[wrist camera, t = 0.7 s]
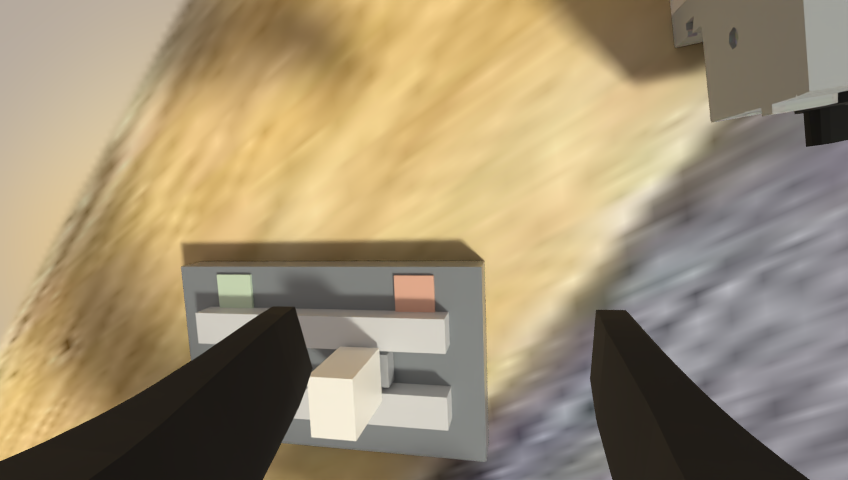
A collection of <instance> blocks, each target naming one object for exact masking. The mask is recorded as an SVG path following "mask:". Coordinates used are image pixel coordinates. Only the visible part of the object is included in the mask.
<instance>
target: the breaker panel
mask: <svg viewBox="0 0 848 480" xmlns="http://www.w3.org/2000/svg"><path fill="white" fill-rule="evenodd" d="M181 270H182V280H183V289H184V299H185V308H186V317H187V327H188V336H189V346H190V355H191V361H192V360H193V359H195V358H196V357H198V356H199V355H201V354H202V353H204V352H205V351H207V350H208V349H210V348H211V347H213V346H214V345H215V344H217V343H218V342H220V341H221V340H223V339H224V338H226V337H227V336H229V335H230V334H231V333H233V332H234V331H236V330H237V329H239V328H240V327H242V326H243V325H244V324H246V323H247V322H249V321H250V320H252V319H253V318H255V317H256V316H258V315H259V314H261V313H263V312H264V311H266V310H268V309H269V308H271V307H273V306H282V307H295V309H296V312H297V315H298V319H299V322H300V326H301V329H302V333H303V336H304V340H305V343H306V347H307V350H308V354H309V357H310V361H311V364H312V368H313V369H312V371H314V370H315V369H316V368H317V367H318V366H319V365H320V364H321V363H322V362H323V361H325V360H326V359H327V358H328V357H329V356H330V355H331V354H332V353H333V352H334V351H336V350H337V349H338V348H339V347H340V346H341V347H366V348H379V351H389V352H393V359H394V381H393V382H392V384H391V385H390V387H389V388H387V387H381V391H382V402H381V403H380V405H379V406H378V408H377V410H376V411H375V413H374V414H373V416H372V417H371V419H370V421H369V422H368V424H367V425H366V427H365V428H364V430H363V431H362V433H361V435H360V436H359V438H358V439H357V441H348V440H337V439H325V438H314V437H311V426H310V413H309V399H308V386H307V387H306V390H305V393H304V395H303V398H302V401H301V404H300V406H299V408H298V410H297V412H296V415H295V417H294V419H293V421H292V423H291V425H290V427H289V429H288V431H287V433H286V435H285V437H284V439H283V441H282V443H288V444H298V445H309V446H320V447H331V448H341V449H352V450H363V451H374V452H384V453H395V454H406V455H417V456H427V457H438V458H449V459H460V460H470V461H481V462H486V460H487V452H488V445H489V436H488V392H487V349H486V305H485V261H201V262H197V263H193V264H189V265H185V266H182V267H181Z"/></svg>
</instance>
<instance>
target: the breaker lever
mask: <svg viewBox="0 0 848 480" xmlns="http://www.w3.org/2000/svg"><path fill="white" fill-rule="evenodd" d="M393 381H394V359H393V352H389V351H379V348H366V347H341V346H340V347H339V348H338V349H337V350H336V351H334V352H333V353H332V354H331V355H330V356H329V357H328V358H327V359H326V360H325V361H323V362H322V363H321V364H320V365H319V366H318V367H317V368H316V369H315V370H314V371H312V372H311V375H310V378H309V381H308V384H307V386H308V399H309V413H310V426H311V437H314V438H325V439H337V440H348V441H357V439H358V438H359V436H360V435H361V433H362V431H363V430H364V428H365V427H366V425H367V424H368V422H369V421H370V419H371V417H372V416H373V414H374V413H375V411H376V410H377V408H378V406H379V405H380V403H381V402H382V391H381V387H387V388H389V387H390V385H391V384H392V382H393Z"/></svg>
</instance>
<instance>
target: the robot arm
mask: <svg viewBox="0 0 848 480" xmlns="http://www.w3.org/2000/svg"><path fill="white" fill-rule="evenodd" d="M312 369H313V368H312V364H311V361H310V357H309V354H308V350H307V347H306V343H305V340H304V336H303V333H302V329H301V326H300V322H299V319H298V315H297V312H296V309H295V307H282V306H273V307H271V308H269V309H268V310H266V311H264V312H263V313H261V314H259V315H258V316H256V317H255V318H253V319H252V320H250V321H249V322H247V323H246V324H244V325H243V326H242V327H240V328H239V329H237V330H236V331H234V332H233V333H231V334H230V335H229V336H227V337H226V338H224V339H223V340H221V341H220V342H218V343H217V344H215V345H214V346H213V347H211V348H210V349H208V350H207V351H205V352H204V353H202V354H201V355H199V356H198V357H196V358H195V359H193V360H192V361H190V362H189V363H187V364H185V365H184V366H182V367H181V368H179V369H178V370H176V371H175V372H173V373H171V374H170V375H168V376H167V377H165V378H164V379H162V380H160V381H159V382H157V383H156V384H154V385H152V386H151V387H149V388H147V389H146V390H144V391H142V392H141V393H139V394H137V395H135V396H134V397H132V398H130V399H128V400H127V401H125V402H123V403H121V404H119V405H117V406H116V407H114V408H112V409H110V410H108V411H107V412H105V413H103V414H101V415H99V416H97V417H95V418H93V419H91V420H89V421H87V422H85V423H83V424H81V425H79V426H77V427H74V428H72V429H70V430H68V431H66V432H64V433H62V434H60V435H58V436H56V437H54V438H52V439H50V440H48V441H46V442H44V443H41V444H39V445H37V446H35V447H32V448H30V449H28V450H25V451H23V452H21V453H19V454H16V455H14V456H12V457H9V458H7V459H5V460H2V461H0V480H263V478H264V476H265V474H266V472H267V470H268V468H269V466H270V464H271V462H272V460H273V458H274V456H275V454H276V452H277V450H278V449H279V447H280V445H281V443H282V441H283V439H284V437H285V435H286V433H287V431H288V429H289V427H290V425H291V423H292V421H293V419H294V417H295V415H296V412H297V410H298V408H299V406H300V404H301V401H302V398H303V395H304V393H305V390H306V387H307V384H308V381H309V378H310V375H311V372H312ZM590 381H591V388H592V394H593V401H594V408H595V414H596V420H597V425H598V428H599V432H600V436H601V439H602V443H603V447H604V450H605V454H606V458H607V461H608V465H609V469H610V472H611V476H612V479H613V480H809V479H808V478H807V477H805V476H804V475H803V474H801V473H800V472H799V471H797V470H796V469H794V468H793V467H792V466H790V465H789V464H788V463H786V462H785V461H784V460H783V459H781V458H780V457H779V456H778V455H776V454H775V453H774V452H773V451H771V450H770V449H769V448H768V447H766V446H765V445H764V444H763V443H761V442H760V441H759V440H757V439H756V438H755V437H754V436H752V435H751V434H750V433H749V432H748V431H746V430H745V429H744V428H743V427H742V426H740V425H739V424H738V423H737V422H736V421H735V420H733V419H732V418H731V417H730V416H729V415H728V414H727V413H726V412H725V411H723V410H722V409H721V408H720V407H719V406H718V405H717V404H716V403H715V402H714V401H712V400H711V399H710V398H709V397H708V396H707V395H706V394H705V393H704V392H703V391H702V390H701V389H700V388H699V387H698V386H697V385H696V384H695V383H694V382H693V381H692V380H691V379H690V378H689V377H688V376H687V375H686V374H685V373H684V372H683V371H682V370H681V369H680V368H679V367H678V366H677V365H676V364H675V363H674V362H673V361H672V360H671V359H670V358H669V357H668V356H667V355H666V354H665V353H664V352H663V351H662V350H661V348H660V347H659V346H658V345H657V344H656V343H655V342H654V341H653V340H652V339H651V338H650V336H649V335H648V334H647V333H646V332H645V331H644V330H643V329H642V328H641V326H640V325H639V324H638V323H637V322H636V321H635V320H634V318H633V317H632V316H631V315H630V314H629V313H628V312H627V311H626V310H596V317H595V329H594V341H593V352H592V364H591V376H590Z"/></svg>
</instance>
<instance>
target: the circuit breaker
mask: <svg viewBox="0 0 848 480" xmlns="http://www.w3.org/2000/svg"><path fill="white" fill-rule="evenodd" d="M670 7H671V16H672V26H673V36H674V46H675V48H677V47H682V46H687V45H691V44H696V43H701V42H703V47H704V57H705V67H706V77H707V87H708V98H709V108H710V118H711V122H718V121H723V120H729V119H735V118H741V117H746V116H752V115H758V114H762V116H768V115H774V114H780V113H786V112H792V111H794V112H795V114H800V113H804V125H805V138H806V147H808V146H815V145H822V144H829V143H835V142H839V141H844V140H848V0H670Z"/></svg>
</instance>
